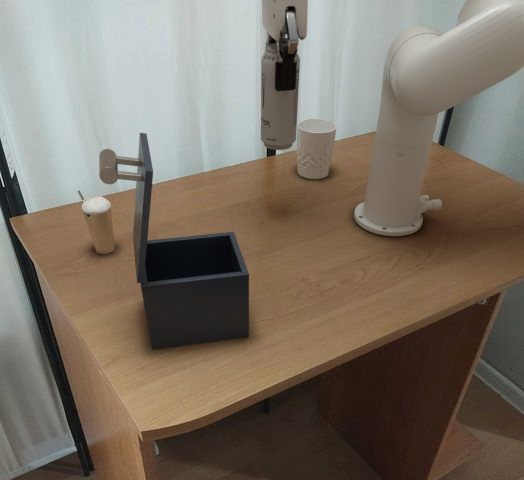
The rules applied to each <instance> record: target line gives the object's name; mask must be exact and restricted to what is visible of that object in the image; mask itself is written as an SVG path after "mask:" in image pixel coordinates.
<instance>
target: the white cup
mask: <svg viewBox="0 0 524 480" xmlns="http://www.w3.org/2000/svg"><path fill="white" fill-rule="evenodd" d="M337 128H338V127H337V124H336V123H335V122H334V121H332V120H329V119H325V118H319V117H317V118H316V117H313V118H311V117H310V118H305V119H302V120H300V121H298V122H297V128H296V159H297V168H296V171H297V174H298V175H299V176H300V177H302V178H305V179H308V180H309V179H310V180H320V179H324V178H326V177H328V176H329V173H330V169H331V168H330V166H331V163H332V159H333V158H332V157H333V151H334V148H335V147H334V146H335V140H336V132H337Z"/></svg>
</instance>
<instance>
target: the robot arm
mask: <svg viewBox="0 0 524 480" xmlns="http://www.w3.org/2000/svg"><path fill="white" fill-rule="evenodd" d="M308 6H309V0H261V19H262V27H263V29H264V30H265V31H266V37H265V46H266V45H268V44H272V43H277V59H278V62H275V90H276V91H289V90H295V88H296V69H297V53H298V46H299V40H301V41H304V40H305V39H306V38H307V36H308V13H309V12H308V10H309V9H308ZM455 25H456V26H455V27H454V28H452V29H451V30H449V31H447V32H445V33H444V34H443V33H442V32H441V31H440V30H438V29H437V28H436V27H434V26H431V25H426V24H417V25H413V26H409V27H407V28H406V29H404V30H402V31H401V32H400V33H399V34H398V35H397V36H396V37H395V38H394V40H393V41H392V43H391V44H390V46H389V48H388V50H387V53H386V56H385V60H384V66H383V72H382V81H381V94H380V102H379V112H378V117H377V123H376V129H375V133H374V140H373V147H372V152H371V158H370V159H371V160H370V166H369V172H368V177H367V184H366V189H365V196H364V201H362V202H360V203H359V204H358V205H357V206H356V207H355V208H354V213H353V218H354V221H355V223H356V224H357V225H358V226H359V227H360V228H362V229H363V230H366V231H368V232H369V233H372V234H375V235H379V236H384V237H404V236H408V235H412V234H414V233H416V232H418V231H419V230H421V229H420V228H421V227H422V225H423V220H424V217H423V214H424V213H426V212H427V211H431V212H432V211H439V210H442V207H443V202H442V200H441V199H440V198H436V199H430V195H428V194H425V195H421V192H422V187H423V184H424V179H425V174H426V171H427V166H428V161H429V157H430V155H431V149H432V146H433V142H434V137H435V133H436V129H437V124H438V120H439V114H440V113H442V112H445V111H448V110H449V109H451V108H454V107H455V106H457V105H459V104H461V103H464V102H465V101H467V100H469V99H471V98H473V97H475V96H476V95H479V94H481V93H483V92H485V91H486V90H488V89H490V88H492V87H493V86H496V85H498V84H499V83H501V82H503V81H505V80H506V79H509V78H510V77H511V76H514V75H515V74H516V73H518V72H519V71H521V70H522V69H523V68H524V0H467V1H465V3H464V5H462V7H461V9H460V10H459V13H458V15H457V18H456V24H455ZM282 44H287V45H286V46H284V48H283V52H282Z"/></svg>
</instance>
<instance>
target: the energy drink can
mask: <svg viewBox="0 0 524 480" xmlns="http://www.w3.org/2000/svg"><path fill="white" fill-rule="evenodd" d="M286 45H287V44H282V52H283V48H284V46H286ZM264 49H265V50H264V52H263V55H262V56H261V62H260V63H261V64H260V68H261V69H260V141H261V142H262V143H263V146H264V147H265V148H267V149H270V150H274V151H285V150H288V149H291V148H292V147H293V143H295V142H297V125H298V108H299V107H298V106H299V86H300V71H301V69H300V66H301V58H300V56H299V53H298V52H297V69H296V88H295V90H289V91H276V90H275V62H278V59H277V43H272V44H268V45H266V44H265V48H264Z"/></svg>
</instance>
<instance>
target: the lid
mask: <svg viewBox="0 0 524 480" xmlns="http://www.w3.org/2000/svg"><path fill="white" fill-rule="evenodd" d="M98 155H99V156H98V168H99V171H98V172H99V175H98V177H99V179H100V181H101V182H102V183H103V184H105V185H114V184H115V183H117V182H118V180H121V181H122V180H124V181H132V182H136V183H135V185H136V186H135V200H134V214H133V215H134V216H133V232H132V244H133V254H134V255H133V256H134V264H135V265H134V267H135V276H136V284H141V283H144V274H145V262H146V250H147V240H148V237H149V227H150V226H149V225H150V212H151V204H152V203H151V202H152V191H153V179H154V169H153V168H154V167H153V162H152V157H151V152H150V145H149V140H148V134H147V133H146V132H139V139H138V156H137V157H129V156H120V155H117V153H116V151H114V150H113V149H110V148H105V149H102V150H100V152H99V154H98ZM118 165H122V166H123V165H124V166H129V167H130V166H131V167H132V166H133V167H137V169H136V170H137V171H136V172H131V171H123V170H119V166H118Z"/></svg>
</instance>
